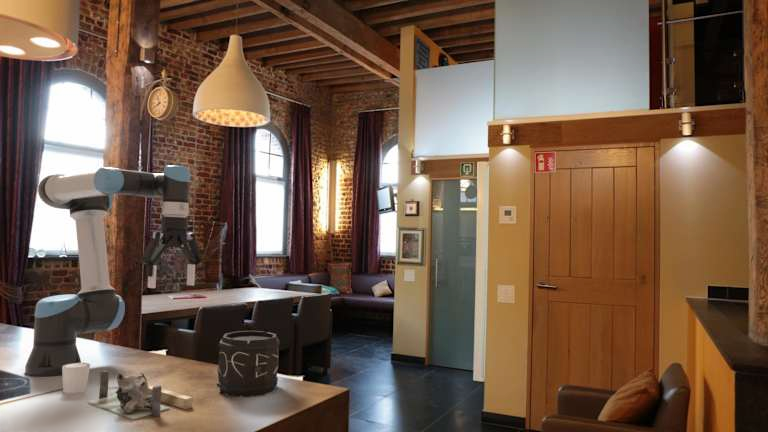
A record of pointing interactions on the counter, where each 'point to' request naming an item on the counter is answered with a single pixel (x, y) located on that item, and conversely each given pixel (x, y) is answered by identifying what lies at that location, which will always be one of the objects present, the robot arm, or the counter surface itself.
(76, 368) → the shot glass
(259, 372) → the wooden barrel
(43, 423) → the counter surface
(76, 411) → the counter surface
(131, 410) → the decorative stone
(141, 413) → the grey tray with pegs
